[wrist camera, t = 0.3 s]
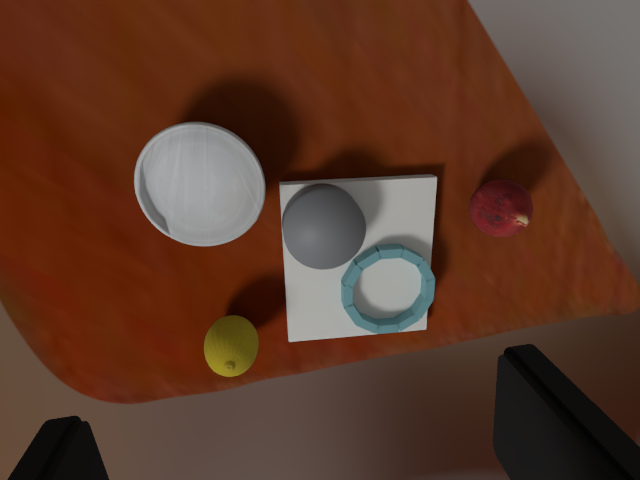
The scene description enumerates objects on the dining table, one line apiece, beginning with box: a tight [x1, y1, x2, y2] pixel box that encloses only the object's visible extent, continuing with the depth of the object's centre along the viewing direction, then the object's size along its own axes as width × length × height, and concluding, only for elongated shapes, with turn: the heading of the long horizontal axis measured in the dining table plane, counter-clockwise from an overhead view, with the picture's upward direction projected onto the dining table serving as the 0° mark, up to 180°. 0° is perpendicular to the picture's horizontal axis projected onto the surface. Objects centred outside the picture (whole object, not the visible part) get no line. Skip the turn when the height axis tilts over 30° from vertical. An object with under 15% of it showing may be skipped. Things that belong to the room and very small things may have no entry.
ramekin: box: [134, 122, 265, 246], centre depth 41 cm, size 11×11×5 cm
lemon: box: [204, 315, 258, 377], centre depth 45 cm, size 6×6×8 cm
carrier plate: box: [279, 174, 437, 342], centre depth 46 cm, size 18×16×4 cm
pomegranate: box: [469, 179, 533, 237], centre depth 44 cm, size 6×6×8 cm
